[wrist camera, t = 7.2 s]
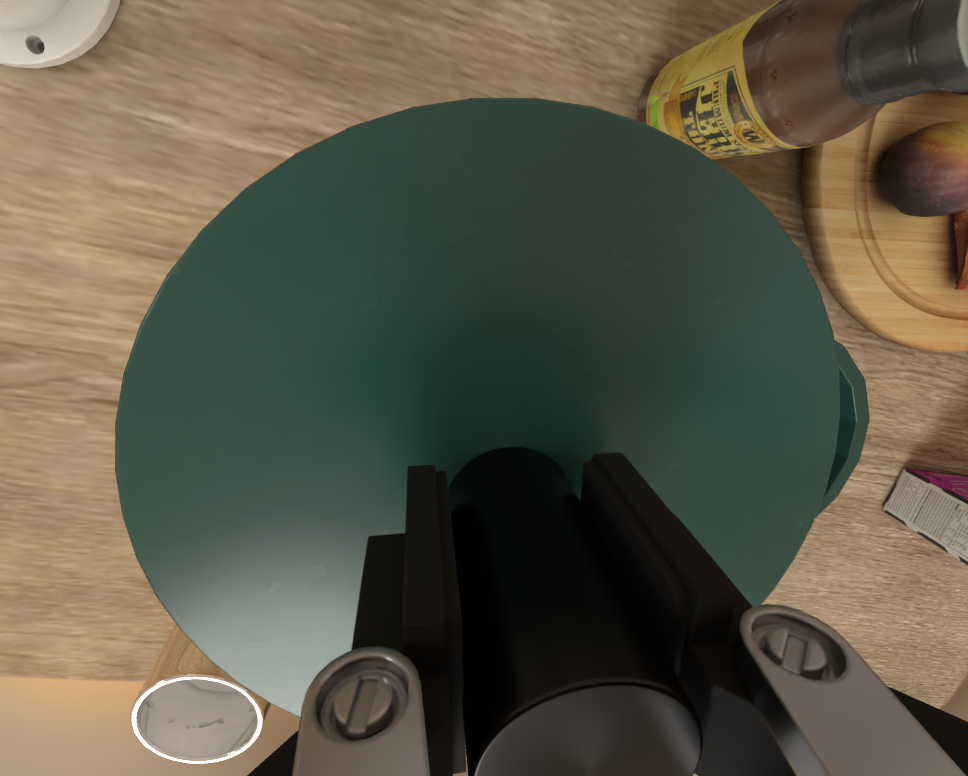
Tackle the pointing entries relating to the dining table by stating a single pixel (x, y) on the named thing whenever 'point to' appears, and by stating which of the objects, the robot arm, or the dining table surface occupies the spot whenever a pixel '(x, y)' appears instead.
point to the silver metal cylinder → (194, 707)
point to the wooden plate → (896, 220)
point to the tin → (847, 425)
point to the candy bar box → (933, 508)
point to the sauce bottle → (806, 73)
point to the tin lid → (478, 409)
